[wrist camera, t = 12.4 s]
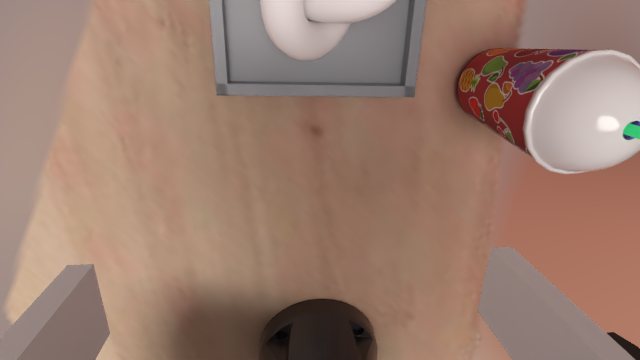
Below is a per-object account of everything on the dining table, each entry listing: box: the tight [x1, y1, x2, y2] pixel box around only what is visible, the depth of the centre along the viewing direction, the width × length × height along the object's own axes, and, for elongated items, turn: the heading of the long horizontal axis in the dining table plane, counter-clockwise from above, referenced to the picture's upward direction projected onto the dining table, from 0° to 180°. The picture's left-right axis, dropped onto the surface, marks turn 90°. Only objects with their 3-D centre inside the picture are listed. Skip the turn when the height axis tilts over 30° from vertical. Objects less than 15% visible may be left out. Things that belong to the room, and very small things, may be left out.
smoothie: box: [458, 48, 640, 174], centre depth 28 cm, size 8×8×20 cm
